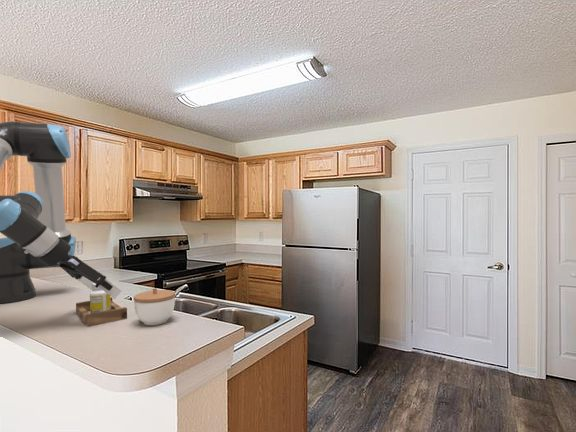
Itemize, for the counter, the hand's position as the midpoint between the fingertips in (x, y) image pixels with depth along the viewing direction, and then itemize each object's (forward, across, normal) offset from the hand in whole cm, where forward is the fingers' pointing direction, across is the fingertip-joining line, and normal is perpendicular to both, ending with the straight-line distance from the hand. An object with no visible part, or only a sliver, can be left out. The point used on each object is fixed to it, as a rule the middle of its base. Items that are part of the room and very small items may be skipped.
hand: (107, 291), depth 102 cm
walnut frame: (+3, 0, -6) cm, 7 cm away
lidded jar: (+8, +20, -2) cm, 21 cm away
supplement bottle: (+3, 0, -6) cm, 7 cm away
